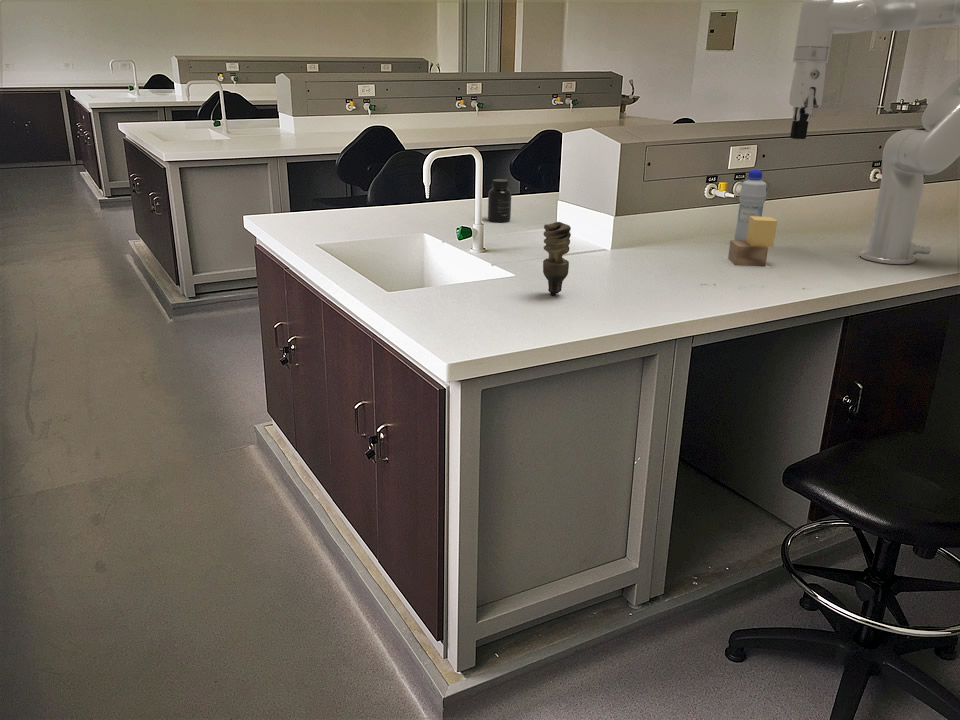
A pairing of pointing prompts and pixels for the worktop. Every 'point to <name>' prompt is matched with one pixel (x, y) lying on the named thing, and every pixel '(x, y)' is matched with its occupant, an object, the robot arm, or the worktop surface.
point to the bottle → (750, 202)
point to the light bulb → (556, 255)
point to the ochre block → (761, 231)
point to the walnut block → (747, 254)
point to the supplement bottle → (499, 202)
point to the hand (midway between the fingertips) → (797, 138)
